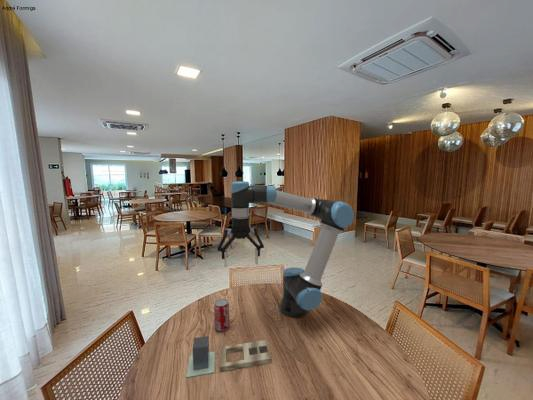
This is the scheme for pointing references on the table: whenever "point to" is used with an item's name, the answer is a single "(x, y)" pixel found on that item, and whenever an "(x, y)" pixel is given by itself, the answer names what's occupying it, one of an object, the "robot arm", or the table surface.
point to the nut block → (201, 353)
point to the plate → (245, 355)
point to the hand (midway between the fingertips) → (241, 264)
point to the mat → (202, 371)
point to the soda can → (221, 315)
